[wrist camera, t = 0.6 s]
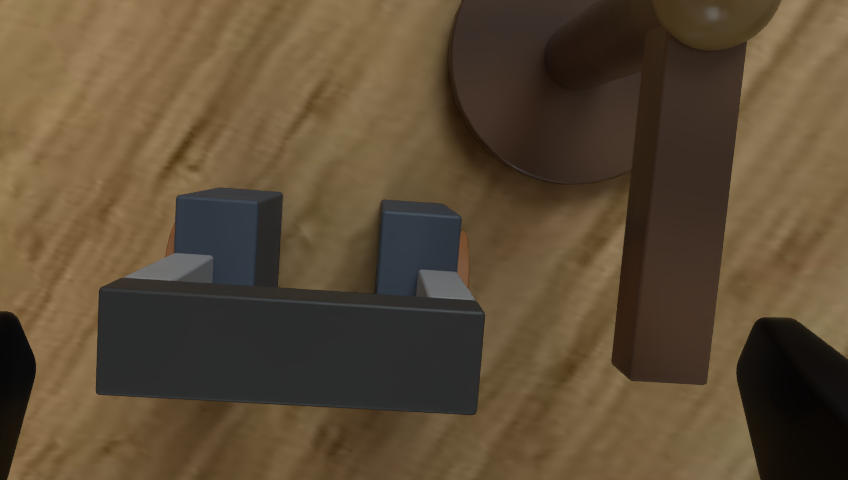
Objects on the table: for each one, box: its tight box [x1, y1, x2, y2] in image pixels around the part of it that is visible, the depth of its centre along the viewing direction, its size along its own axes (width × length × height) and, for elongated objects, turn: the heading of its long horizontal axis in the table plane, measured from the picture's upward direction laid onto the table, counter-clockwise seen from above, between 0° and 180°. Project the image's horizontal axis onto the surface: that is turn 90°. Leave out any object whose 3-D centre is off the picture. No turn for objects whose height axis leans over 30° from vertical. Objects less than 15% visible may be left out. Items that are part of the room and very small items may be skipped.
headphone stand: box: [448, 0, 781, 385], centre depth 18 cm, size 11×8×11 cm
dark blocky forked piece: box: [96, 188, 485, 415], centre depth 19 cm, size 5×8×10 cm, turn 85°
